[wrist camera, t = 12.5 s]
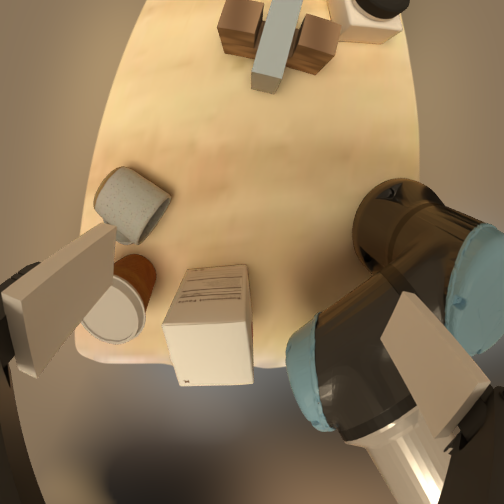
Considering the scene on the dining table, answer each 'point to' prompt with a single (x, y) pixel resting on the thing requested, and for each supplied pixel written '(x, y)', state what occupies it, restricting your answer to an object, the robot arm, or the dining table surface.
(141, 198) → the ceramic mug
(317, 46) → the walnut stand
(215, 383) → the supplement box
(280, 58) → the slate plate
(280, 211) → the dining table surface
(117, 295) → the disposable coffee cup
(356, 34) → the medicine bottle
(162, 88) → the dining table surface
